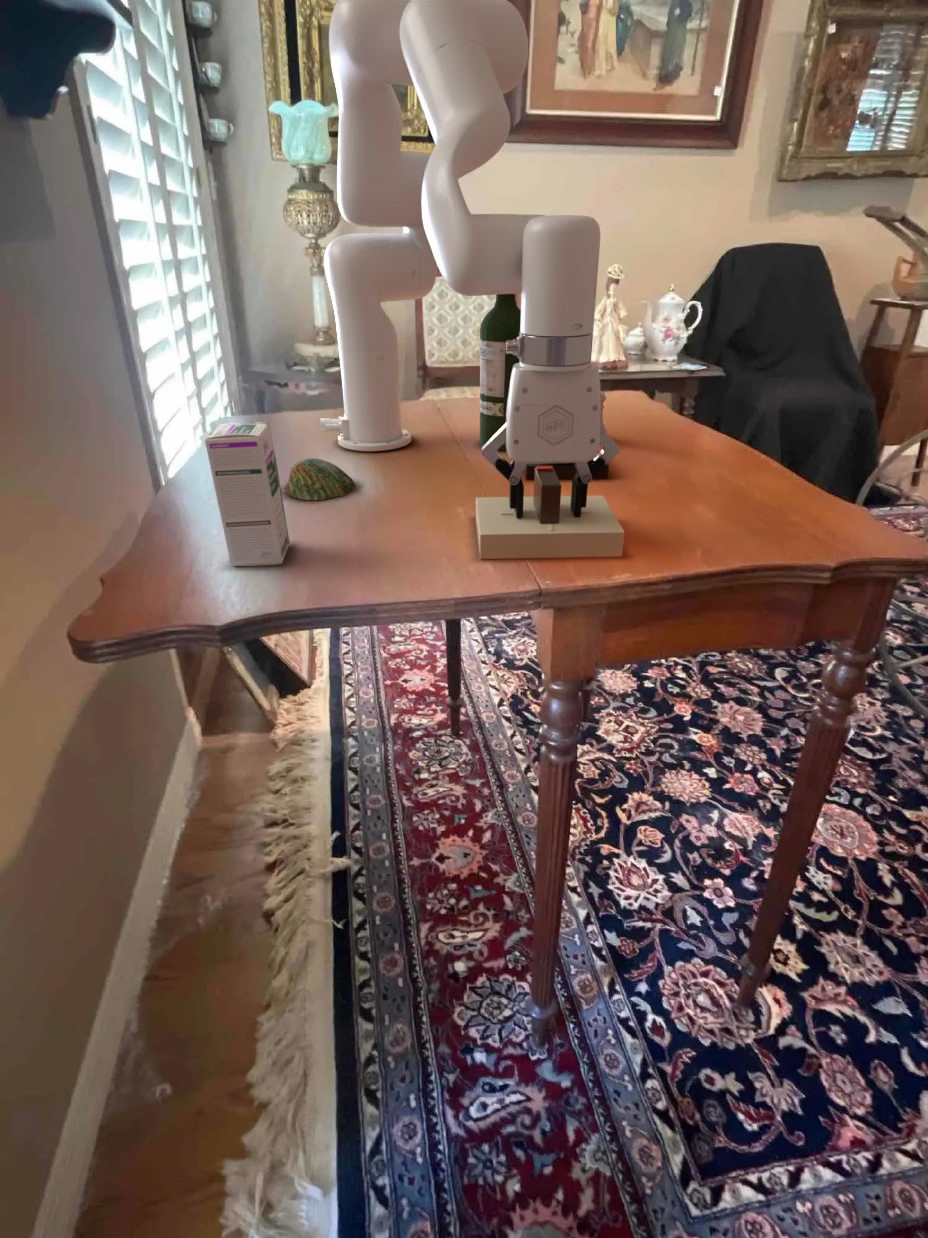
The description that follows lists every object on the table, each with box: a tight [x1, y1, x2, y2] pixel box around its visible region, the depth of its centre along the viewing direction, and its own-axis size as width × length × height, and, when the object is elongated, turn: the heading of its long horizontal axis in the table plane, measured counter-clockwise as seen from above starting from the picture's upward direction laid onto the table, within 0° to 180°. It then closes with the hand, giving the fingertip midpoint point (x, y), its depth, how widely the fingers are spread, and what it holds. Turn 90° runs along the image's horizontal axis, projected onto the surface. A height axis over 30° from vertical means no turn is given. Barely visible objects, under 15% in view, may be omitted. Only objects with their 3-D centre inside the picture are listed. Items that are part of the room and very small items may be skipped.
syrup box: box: [204, 421, 290, 567], centre depth 75 cm, size 6×6×14 cm
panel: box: [475, 494, 625, 560], centre depth 82 cm, size 16×12×3 cm
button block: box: [523, 450, 610, 481], centre depth 104 cm, size 12×10×4 cm
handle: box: [533, 466, 562, 523], centre depth 80 cm, size 6×2×5 cm, turn 2°
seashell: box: [283, 458, 356, 501], centre depth 98 cm, size 10×4×10 cm
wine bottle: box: [479, 294, 521, 452], centre depth 110 cm, size 8×8×30 cm
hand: (547, 512), depth 81 cm, fingers open, 6 cm apart
